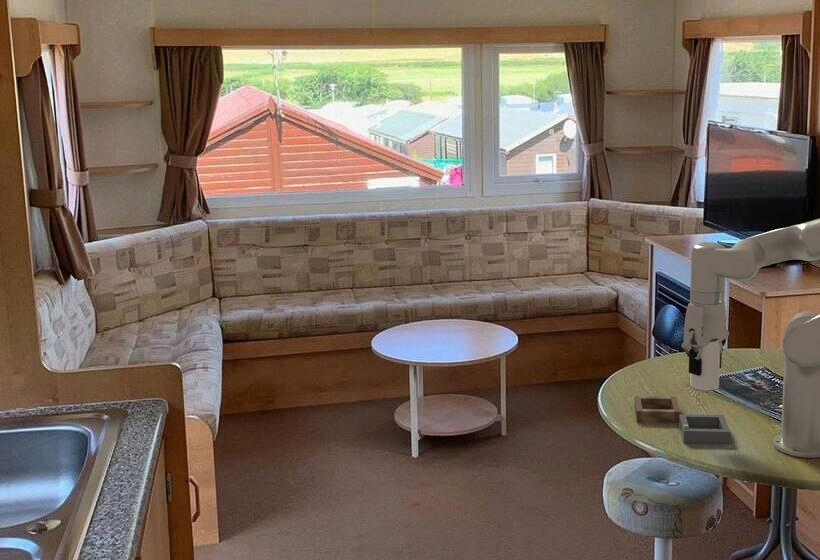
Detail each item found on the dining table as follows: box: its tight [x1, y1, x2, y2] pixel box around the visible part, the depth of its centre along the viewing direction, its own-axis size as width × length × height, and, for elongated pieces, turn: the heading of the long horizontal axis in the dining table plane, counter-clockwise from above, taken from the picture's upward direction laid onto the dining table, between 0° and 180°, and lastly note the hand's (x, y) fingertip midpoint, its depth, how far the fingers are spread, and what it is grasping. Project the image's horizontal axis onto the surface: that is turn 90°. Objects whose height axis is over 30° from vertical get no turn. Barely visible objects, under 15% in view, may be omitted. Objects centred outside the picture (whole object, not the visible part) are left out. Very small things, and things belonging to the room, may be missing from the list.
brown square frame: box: [633, 395, 681, 424], centre depth 238 cm, size 10×10×3 cm
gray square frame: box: [678, 413, 731, 445], centre depth 225 cm, size 10×10×4 cm
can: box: [689, 340, 721, 392], centre depth 221 cm, size 6×6×12 cm
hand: (704, 370), depth 221 cm, fingers closed on can, 6 cm apart
